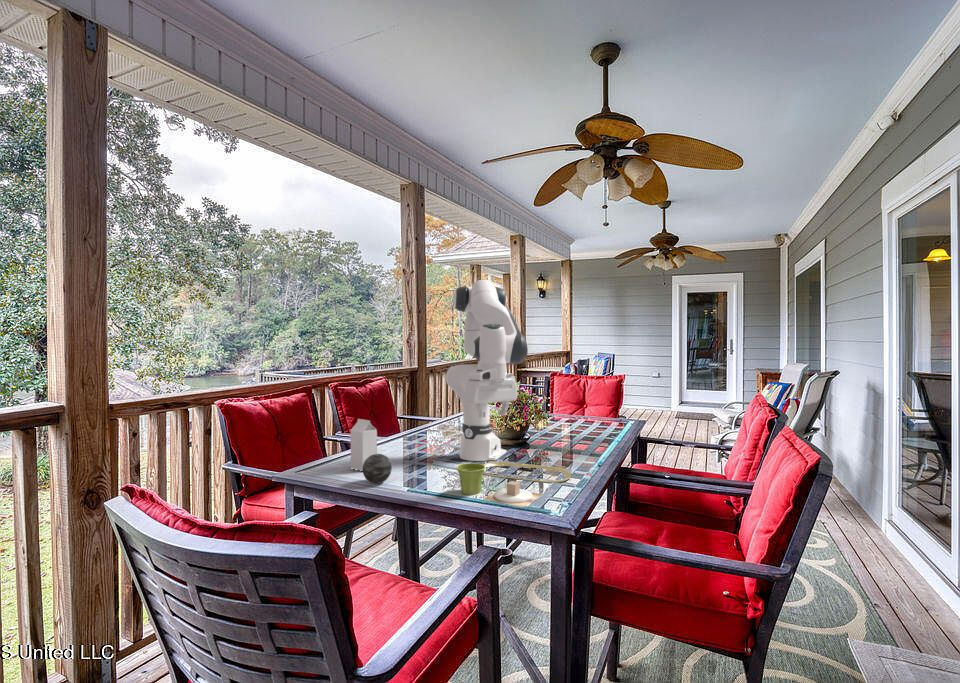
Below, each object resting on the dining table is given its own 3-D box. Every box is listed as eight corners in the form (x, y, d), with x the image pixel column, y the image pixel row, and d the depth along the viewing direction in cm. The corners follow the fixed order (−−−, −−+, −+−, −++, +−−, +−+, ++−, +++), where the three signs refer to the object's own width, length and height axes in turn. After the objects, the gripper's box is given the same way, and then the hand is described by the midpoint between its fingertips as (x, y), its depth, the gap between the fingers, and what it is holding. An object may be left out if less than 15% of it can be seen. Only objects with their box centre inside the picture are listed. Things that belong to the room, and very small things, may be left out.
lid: (506, 488, 161) (506, 475, 161) (538, 494, 155) (538, 481, 155) (487, 498, 151) (487, 484, 151) (521, 505, 144) (521, 491, 144)
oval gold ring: (564, 488, 165) (564, 483, 165) (470, 476, 178) (470, 472, 178) (576, 473, 182) (576, 469, 182) (489, 463, 196) (489, 460, 196)
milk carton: (362, 472, 182) (362, 421, 182) (350, 469, 186) (350, 420, 186) (377, 468, 188) (377, 419, 188) (365, 465, 192) (365, 417, 192)
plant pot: (460, 499, 152) (460, 471, 152) (453, 490, 161) (453, 464, 161) (488, 496, 155) (488, 469, 154) (481, 487, 164) (481, 462, 164)
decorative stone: (382, 476, 177) (381, 449, 176) (397, 482, 169) (397, 454, 169) (357, 482, 170) (357, 454, 170) (372, 489, 162) (372, 459, 162)
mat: (505, 488, 162) (505, 486, 162) (543, 496, 155) (543, 494, 155) (482, 500, 151) (482, 498, 151) (522, 509, 143) (522, 507, 143)
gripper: (508, 372, 167) (508, 412, 167) (462, 374, 153) (462, 418, 153) (521, 373, 162) (521, 414, 162) (476, 374, 149) (476, 420, 148)
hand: (492, 416), depth 157 cm, fingers open, 8 cm apart
